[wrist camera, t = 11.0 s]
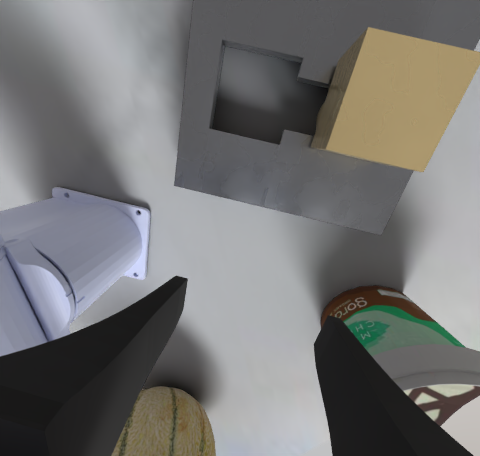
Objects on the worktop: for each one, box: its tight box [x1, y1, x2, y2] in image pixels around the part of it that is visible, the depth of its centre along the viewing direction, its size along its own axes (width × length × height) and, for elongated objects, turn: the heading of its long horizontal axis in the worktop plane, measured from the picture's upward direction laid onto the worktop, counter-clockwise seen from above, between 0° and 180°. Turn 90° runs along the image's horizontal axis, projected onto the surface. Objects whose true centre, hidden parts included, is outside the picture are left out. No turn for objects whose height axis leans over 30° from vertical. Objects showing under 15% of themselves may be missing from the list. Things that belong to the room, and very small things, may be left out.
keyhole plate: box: [174, 0, 480, 235], centre depth 16 cm, size 16×14×3 cm
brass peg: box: [311, 27, 480, 172], centre depth 13 cm, size 5×5×8 cm
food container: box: [321, 285, 480, 426], centre depth 18 cm, size 12×6×10 cm, turn 151°
